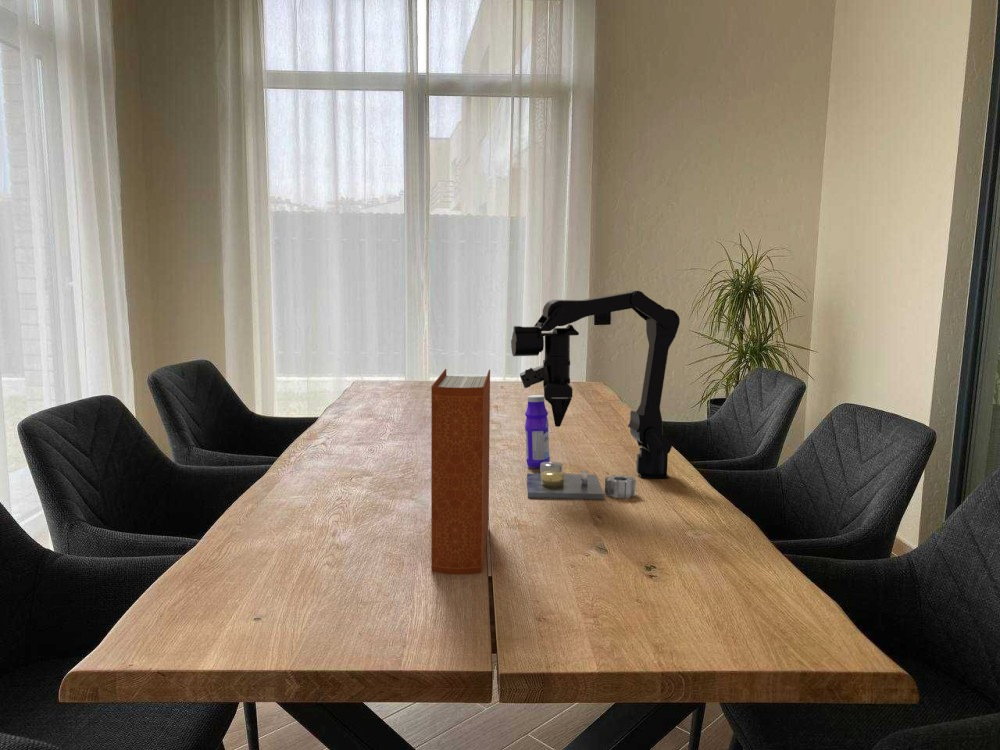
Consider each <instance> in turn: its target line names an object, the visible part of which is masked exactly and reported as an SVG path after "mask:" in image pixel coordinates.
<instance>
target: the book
mask: <svg viewBox="0 0 1000 750" xmlns="http://www.w3.org/2000/svg"><path fill="white" fill-rule="evenodd" d="M430 394H431V399H430V401H431V404H430V405H431V407H430V408H431V410H430V411H431V413H430V414H431V415H430V416H431V420H430V421H431V426H430V427H431V429H430V430H431V437H430V438H431V443H430V444H431V449H430V450H431V453H430V454H431V459H430V460H431V463H430V464H431V467H430V468H431V474H430V476H431V485H430V486H431V488H430V489H431V492H430V493H431V500H430V501H431V507H430V508H431V509H430V510H431V520H430V521H431V523H430V525H431V528H430V529H431V535H430V536H431V539H430V541H431V543H430V545H431V546H430V547H431V549H430V550H431V554H430V555H431V559H430V561H431V562H430V564H431V565H430V566H431V571H430V572H432V573H436V574H441V575H453V576H465V575H467V576H468V575H477V574H478V575H479V574H483V571H484V563H485V557H486V551H487V550H486V549H487V548H486V547H487V542H488V535H489V521H490V519H489V518H490V517H489V516H490V514H489V513H490V512H489V511H490V510H489V508H490V504H489V503H490V428H491V427H490V426H491V425H490V422H491V421H490V418H491V417H490V416H491V414H490V412H491V411H490V410H491V369H488V371H487V374H486V375H484V376H479V375H478V376H468V375H465V376H462V375H461V376H459V375H447V368H445V369H443V371H442V372H441V374H440V375H439V376H438V377H437V379H436V380H435V381H434V382H433V384H431V393H430Z"/></svg>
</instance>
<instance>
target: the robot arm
mask: <svg viewBox="0 0 1000 750" xmlns="http://www.w3.org/2000/svg"><path fill="white" fill-rule="evenodd" d="M630 309H631V310H632V311H634V312H635V313H636V314H637V315H638V316H639V317H640V318H642V320H644V321H645V322H646V323H645V326H646V328H645V329H646V337H647V341H648V350H647V351H648V352H647V358H646V363H645V372H644V378H643V385H642V391H641V397H640V398H641V399H640V404H639V406H638V408H637V409H636V411H635V410H630V415H629V416H630V419H629V423H628V424H627V427H628V428H629V429H630V430H629V431H630V432H629V433H630V435H631V436H632V437H633V439H634V440H636V442H637V446H638V447H639V449H638V451H639V452H638V453H637V454H636V465H635V469H636V470H635V471H636V472H637V474H638V476H639V477H640V478H641V479H642V478H643V479H645V478H646V479H647V478H648V479H669V477H670V476H669V474H668V458H669V454H670V452H671V449H672V447H673V444H672V443H671V442H670V441H669V440H668V439H667V438H666V437H665V436H664V435H663V434H664V428H663V425H664V423H663V417H662V412H661V402H662V394H663V389H664V382H665V374H666V369H667V362H668V355H669V349H670V347H671V346H672V343H673V342H674V340H675V338H676V337H677V334H678V333H677V332H678V331H679V326H680V321H681V318H680V315H679V314H678V313H677V312H676V311H675V310H673V309H672V308H671V309H670V308H666V307H664V306H663V305H661V304H659V303H657V302H656V301H655V300H653V299H651V298H650V297H648V296H647V295H646V294H645V293H644V292H643V291H640V290H633V289H632V290H629V291H626V292H622V293H616V294H610V295H603V296H597V297H592V298H587V299H552V300H549V301H547V302H546V303H545V304H544V306H543V308H542V314H541V316H540V317H539V319H538V320H537V321H536V323H535V324H534V326H520V325H514V326H513V331H512V337H511V340H510V344H511V345H510V347H511V348H510V349H511V354H512V356H513V357H536V356H539V354H540V353H543V351H544V360H542V363H543V364H542V365H540V366H536V367H530V368H528V369H525V370H524V371H522V372H520V374H519V377H520V380H521V382H522V386H523V388H524V389H528V388H531V386H533V385H536V384H539V383H541V382H542V386H543V396H544V401H546V402H548V403H549V404H550V406H551V412H552V416H553V420H554V426H555V427H557V428H558V427H561V425H562V422H563V420H564V418H565V416H566V413H567V411H568V408H569V405H570V403H571V401H572V399H573V387H572V386H571V377H570V375H571V374H570V371H571V370H570V369H571V367H570V366H571V360H570V359H571V358H570V357H571V356H570V355H571V354H570V353H571V337H572V336H579V335H580V333H579V331H578V330H576V329H575V327H574V326H573V325H572V324H573V323H576V322H578V321H580V320H581V319H584V318H586V317H592V316H597V315H601V314H607V313H613V312H619V311H625V310H630ZM564 326H566V327H564Z"/></svg>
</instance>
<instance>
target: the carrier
mask: <svg viewBox="0 0 1000 750" xmlns="http://www.w3.org/2000/svg"><path fill="white" fill-rule="evenodd" d="M539 469H540V470H539V471H540V473H526V484H527V486H526V488H527V498H528V499H550V500H551V499H552V500H553V499H555V500H557V499H558V500H560V499H561V500H562V499H563V500H564V499H565V500H572V499H573V500H604V498H605V497H604V494H605V493H604V491H603V489H602V486H601V484H600V481H599V479H598V476H597V474H589V472H588V471H589V470H581V473H579V474H578V473H577V474H575V473H574V474H573V473H565V472H563V463H561V462H558V461H549V462H542V463H541V464H540V468H539Z"/></svg>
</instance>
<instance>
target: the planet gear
mask: <svg viewBox="0 0 1000 750" xmlns="http://www.w3.org/2000/svg"><path fill="white" fill-rule="evenodd" d="M604 480H605V481H604V494H605V496H606V497H611V498H613V499H626V500H627V499H630V498H632V497H636V485H637V484H636V482H637V480H636V479H635V477H633V476H627V475H626V474H622V475H616V474H611V475H610V476H605V478H604Z"/></svg>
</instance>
